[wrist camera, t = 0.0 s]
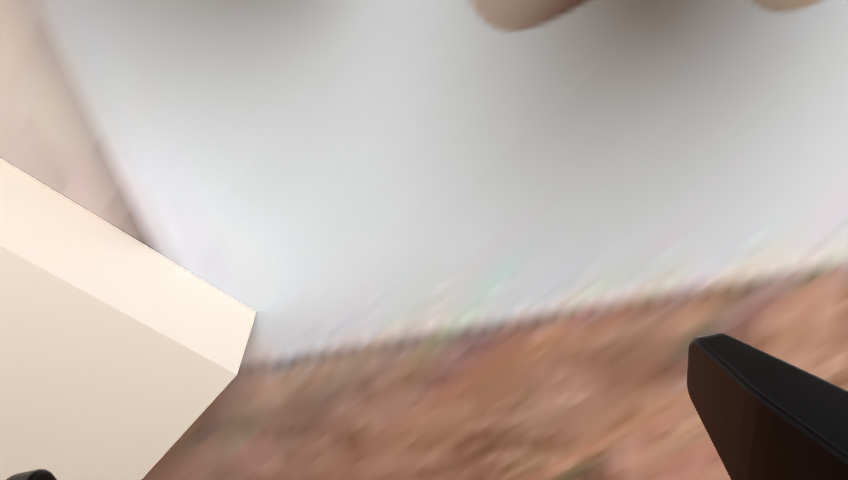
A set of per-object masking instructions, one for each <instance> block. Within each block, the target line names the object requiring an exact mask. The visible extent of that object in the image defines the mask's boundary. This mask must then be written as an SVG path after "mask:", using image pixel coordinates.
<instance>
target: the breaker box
mask: <svg viewBox="0 0 848 480" xmlns="http://www.w3.org/2000/svg"><path fill="white" fill-rule="evenodd" d="M256 313H257V312H256V311H254V310H253V309H251V308H249V307H248V306H246V305H244V304H243V303H241V302H239V301H238V300H236V299H234V298H233V297H231V296H229V295H228V294H226V293H224V292H223V291H221V290H219V289H218V288H216V287H214V286H213V285H211V284H209V283H208V282H206V281H205V280H203V279H201V278H200V277H198V276H196V275H195V274H193V273H191V272H190V271H188V270H186V269H185V268H183V267H181V266H180V265H178V264H176V263H175V262H173V261H171V260H170V259H168V258H166V257H165V256H163V255H161V254H160V253H158V252H156V251H155V250H153V249H151V248H150V247H148V246H146V245H145V244H143V243H141V242H140V241H138V240H136V239H135V238H133V237H131V236H130V235H128V234H126V233H125V232H123V231H121V230H120V229H118V228H116V227H115V226H113V225H111V224H110V223H108V222H106V221H105V220H103V219H101V218H100V217H98V216H96V215H95V214H93V213H91V212H90V211H88V210H86V209H85V208H83V207H81V206H80V205H78V204H76V203H75V202H73V201H71V200H70V199H68V198H66V197H65V196H63V195H61V194H60V193H58V192H56V191H55V190H53V189H51V188H50V187H48V186H46V185H45V184H43V183H41V182H40V181H38V180H36V179H35V178H33V177H31V176H30V175H28V174H26V173H25V172H23V171H21V170H20V169H18V168H16V167H15V166H13V165H11V164H10V163H8V162H6V161H5V160H3V159H1V158H0V480H6V479H7V478H9V477H10V476H12V475H15V474H18V473H22V472H27V471H32V470H37V469H46V470H48V471H50V472H51V473H52V474H53V475H54V476H55V478H56V479H57V480H142V479H143V478H144V476H145V475H146V474H147V473H148V472H149V471H150V470H151V469H152V468H153V467H154V465H155V464H156V463H157V462H158V461H159V460H160V459H161V458H162V457H163V456H164V454H165V453H166V452H167V451H168V450H169V449H170V448H171V447H172V446H173V445H174V443H175V442H176V441H177V440H178V439H179V438H180V437H181V436H182V435H183V434H184V432H185V431H186V430H187V429H188V428H189V427H190V426H191V425H192V424H193V423H194V421H195V420H196V419H197V418H198V417H199V416H200V415H201V414H202V413H203V412H204V410H205V409H206V408H207V407H208V406H209V405H210V404H211V403H212V402H213V401H214V400H215V398H216V397H217V396H218V395H219V394H220V393H221V392H222V391H223V390H224V389H225V387H226V386H227V385H228V384H229V383H230V382H231V381H232V380H233V379H234V378H235V376H236V375H237V374H238V370H239V367H240V364H241V361H242V358H243V354H244V351H245V348H246V345H247V342H248V338H249V335H250V332H251V329H252V326H253V322H254V319H255V316H256Z"/></svg>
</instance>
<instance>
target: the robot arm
mask: <svg viewBox="0 0 848 480" xmlns="http://www.w3.org/2000/svg"><path fill="white" fill-rule="evenodd" d="M687 387H688V392H689V395H690V398H691V400H692V402H693V404H694V406H695V408H696V410H697V412H698V414H699V416H700V418H701V420H702V422H703V424H704V426H705V428H706V430H707V432H708V434H709V436H710V438H711V440H712V442H713V444H714V446H715V448H716V450H717V452H718V454H719V456H720V458H721V460H722V462H723V464H724V466H725V468H726V470H727V472H728V474H729V476H730V478H731V480H848V391H847V390H845V389H843V388H840V387H838V386H836V385H834V384H832V383H830V382H828V381H826V380H823V379H821V378H819V377H817V376H815V375H813V374H811V373H808V372H806V371H804V370H802V369H800V368H798V367H796V366H793V365H791V364H789V363H787V362H785V361H783V360H781V359H778V358H776V357H774V356H772V355H770V354H768V353H766V352H764V351H761V350H759V349H757V348H755V347H753V346H751V345H749V344H746V343H744V342H742V341H740V340H738V339H736V338H734V337H731V336H729V335H727V334H724V333H714V334H709V335H704V336H699V337H695V338H693V339H692V340H691V342H690V344H689V352H688V371H687ZM6 480H57V479H56V478H55V476H54V475H53V474H52V473H51V472H50V471H48V470H46V469H37V470H32V471H27V472H22V473H18V474H15V475H12V476H10V477H9V478H7V479H6Z"/></svg>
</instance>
